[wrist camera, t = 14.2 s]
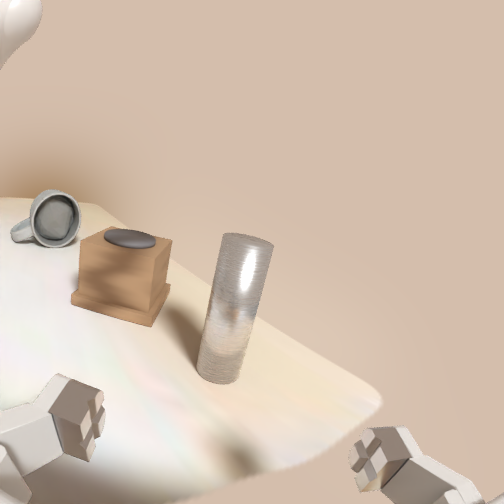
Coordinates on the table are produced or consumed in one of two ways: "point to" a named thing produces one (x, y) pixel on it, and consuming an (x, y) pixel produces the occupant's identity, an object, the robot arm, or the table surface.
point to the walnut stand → (123, 274)
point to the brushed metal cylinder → (232, 306)
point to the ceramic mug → (50, 220)
